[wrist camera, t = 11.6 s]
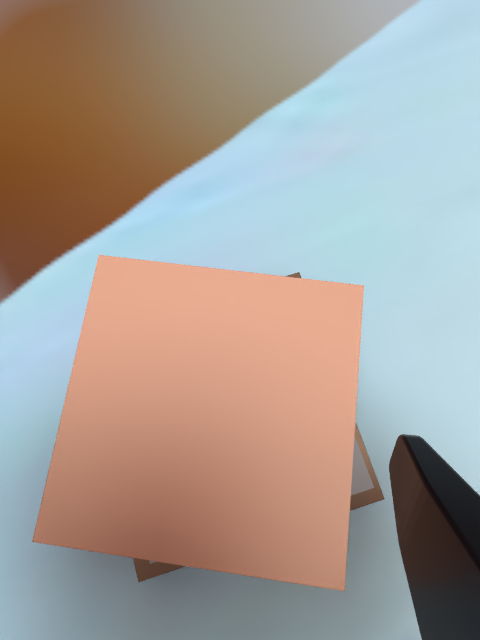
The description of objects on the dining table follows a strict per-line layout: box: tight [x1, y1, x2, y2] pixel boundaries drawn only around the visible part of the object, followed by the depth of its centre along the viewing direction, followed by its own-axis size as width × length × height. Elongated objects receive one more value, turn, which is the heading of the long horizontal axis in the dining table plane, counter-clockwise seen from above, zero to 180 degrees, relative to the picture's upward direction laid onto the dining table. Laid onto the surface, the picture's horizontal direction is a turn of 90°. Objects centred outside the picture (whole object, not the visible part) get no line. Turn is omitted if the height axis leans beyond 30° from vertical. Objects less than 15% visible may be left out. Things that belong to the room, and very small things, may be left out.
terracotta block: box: [32, 255, 364, 591], centre depth 14 cm, size 7×7×9 cm
